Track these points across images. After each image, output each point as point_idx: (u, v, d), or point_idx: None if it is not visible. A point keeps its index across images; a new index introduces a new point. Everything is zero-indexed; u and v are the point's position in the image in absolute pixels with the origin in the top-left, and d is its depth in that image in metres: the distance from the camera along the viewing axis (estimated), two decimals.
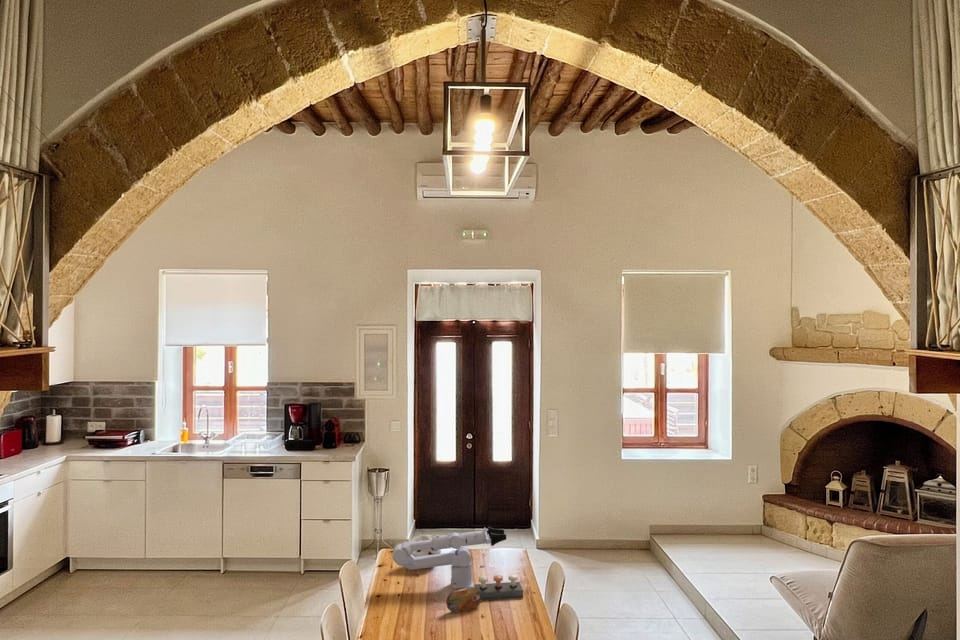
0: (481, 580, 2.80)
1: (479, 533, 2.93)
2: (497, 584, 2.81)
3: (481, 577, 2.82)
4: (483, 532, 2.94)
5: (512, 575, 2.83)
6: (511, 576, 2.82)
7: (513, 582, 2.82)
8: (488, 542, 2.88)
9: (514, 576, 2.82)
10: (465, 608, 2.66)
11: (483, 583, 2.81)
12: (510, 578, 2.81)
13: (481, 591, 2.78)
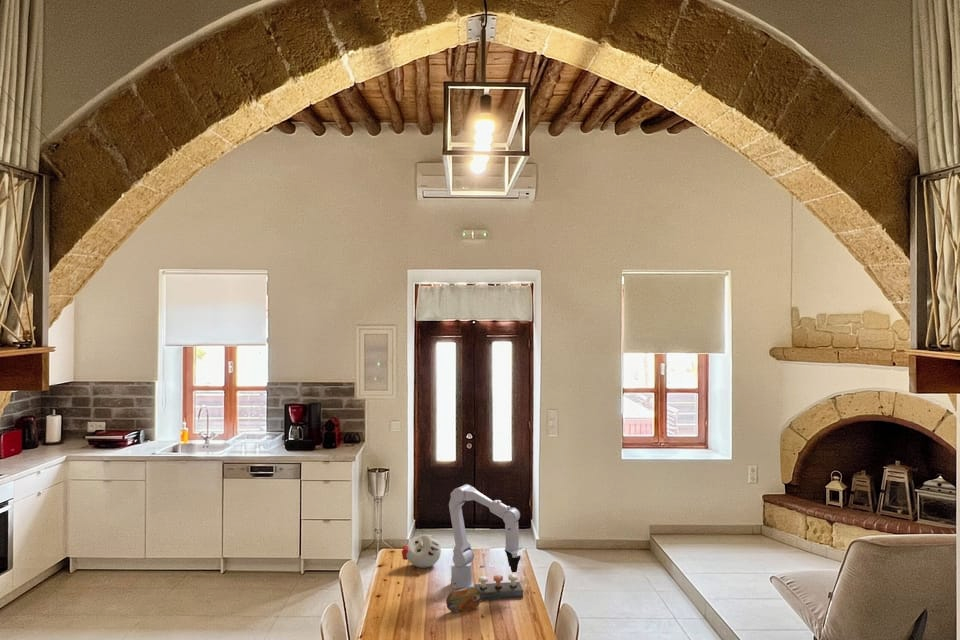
0: (481, 580, 2.80)
1: (517, 543, 2.82)
2: (497, 584, 2.81)
3: (481, 577, 2.82)
4: (518, 546, 2.82)
5: (512, 575, 2.83)
6: (511, 576, 2.82)
7: (513, 582, 2.82)
8: (513, 554, 2.76)
9: (514, 576, 2.82)
10: (465, 608, 2.66)
11: (483, 583, 2.81)
12: (510, 578, 2.81)
13: (481, 591, 2.78)
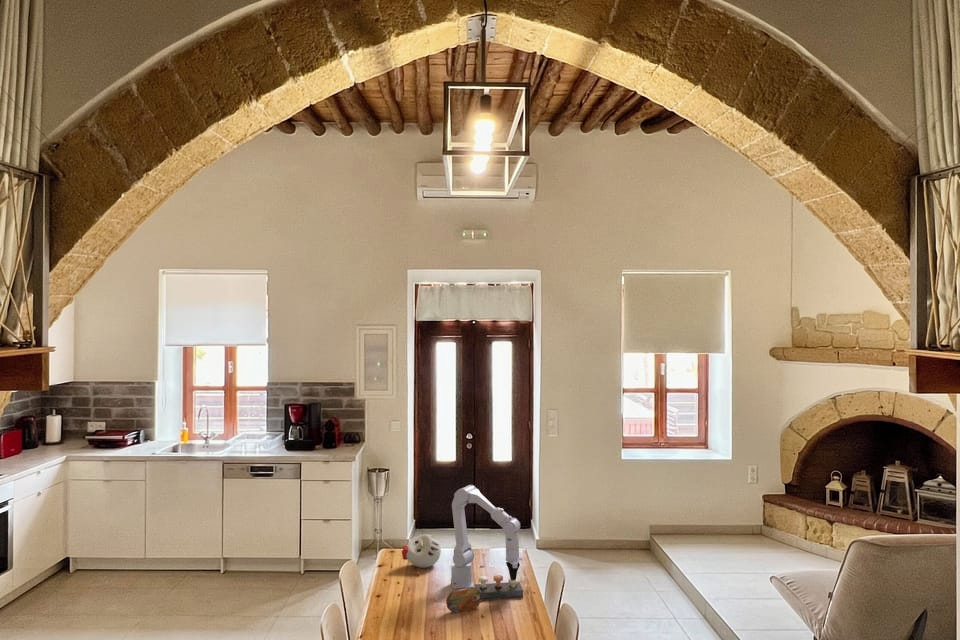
0: (481, 580, 2.80)
1: (518, 553, 2.82)
2: (497, 584, 2.81)
3: (481, 577, 2.82)
4: (518, 557, 2.82)
5: None
6: (511, 580, 2.82)
7: (513, 586, 2.82)
8: (514, 565, 2.76)
9: (514, 580, 2.82)
10: (465, 608, 2.66)
11: (483, 583, 2.81)
12: (510, 582, 2.81)
13: (481, 591, 2.78)
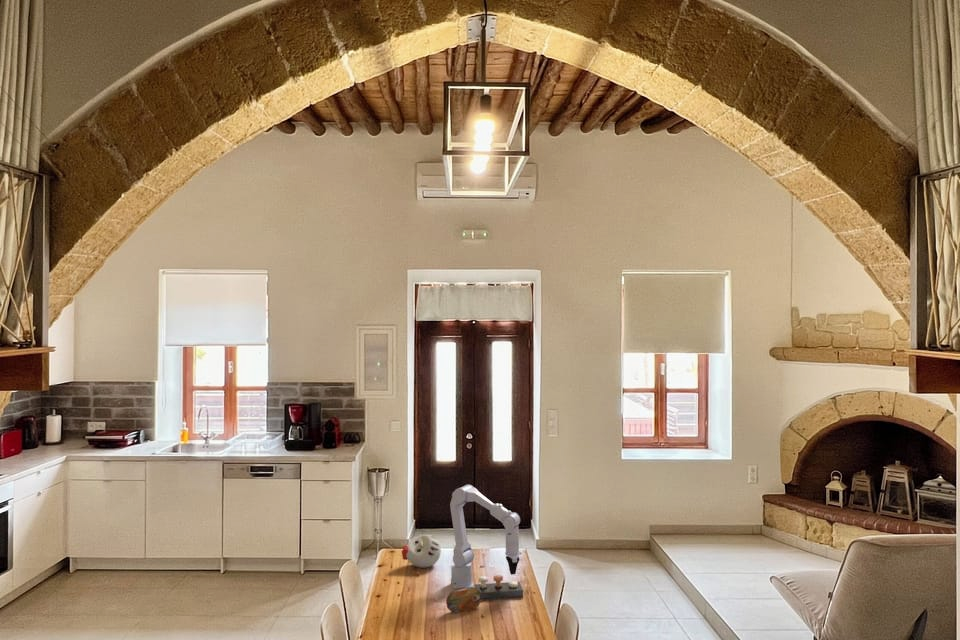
0: (481, 580, 2.80)
1: (518, 547, 2.82)
2: (497, 584, 2.81)
3: (481, 577, 2.82)
4: (518, 551, 2.82)
5: (512, 582, 2.83)
6: (511, 583, 2.82)
7: None
8: (513, 559, 2.76)
9: (514, 583, 2.82)
10: (465, 608, 2.66)
11: (483, 583, 2.81)
12: (510, 585, 2.81)
13: (481, 591, 2.78)
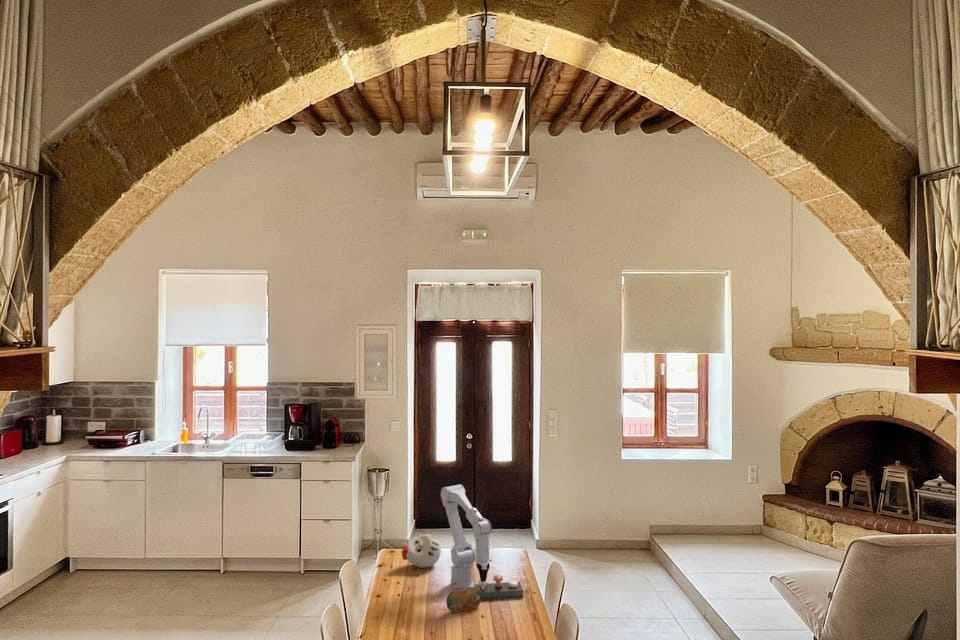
0: (481, 583, 2.80)
1: (488, 554, 2.80)
2: (497, 584, 2.81)
3: None
4: (488, 558, 2.81)
5: (512, 582, 2.83)
6: (511, 583, 2.82)
7: None
8: (483, 567, 2.74)
9: (514, 583, 2.82)
10: (465, 608, 2.66)
11: (483, 586, 2.80)
12: (510, 585, 2.81)
13: (481, 591, 2.78)
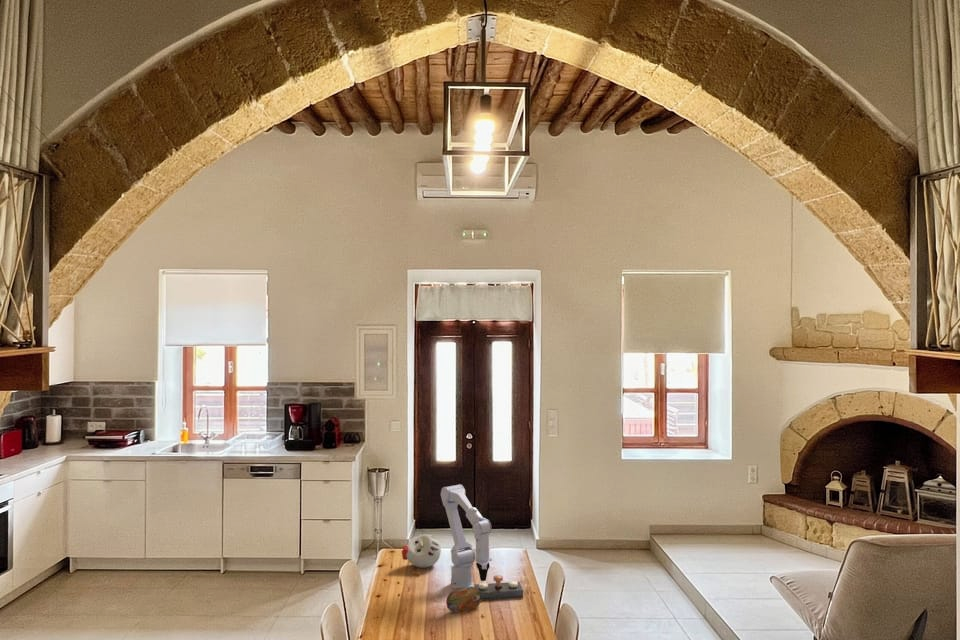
0: (481, 587, 2.80)
1: (488, 554, 2.80)
2: (497, 584, 2.81)
3: (481, 584, 2.82)
4: (488, 558, 2.81)
5: (512, 582, 2.83)
6: (511, 583, 2.82)
7: None
8: (483, 566, 2.75)
9: (514, 583, 2.82)
10: (465, 608, 2.66)
11: None
12: (510, 585, 2.81)
13: (481, 591, 2.78)
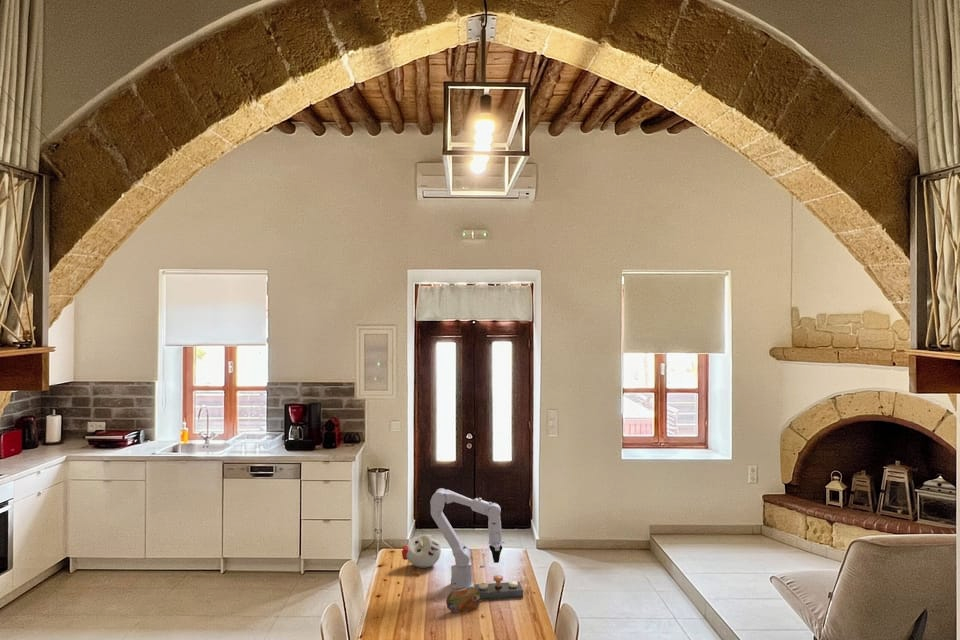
0: (481, 587, 2.80)
1: (500, 536, 2.91)
2: (497, 584, 2.81)
3: (481, 584, 2.82)
4: (501, 540, 2.91)
5: (512, 582, 2.83)
6: (511, 583, 2.82)
7: None
8: (496, 548, 2.85)
9: (514, 583, 2.82)
10: (465, 608, 2.66)
11: None
12: (510, 585, 2.81)
13: (481, 591, 2.78)
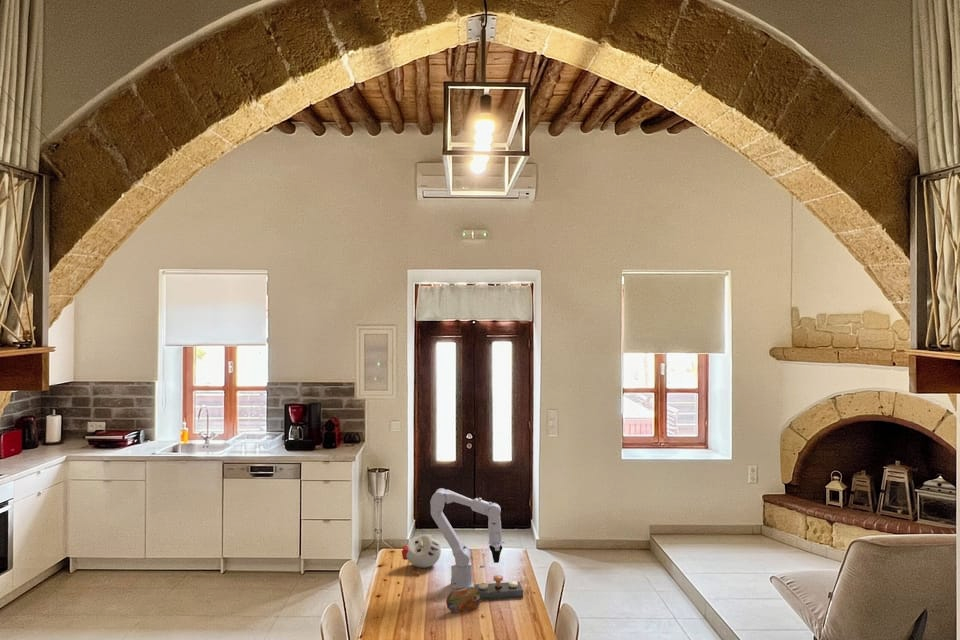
0: (481, 587, 2.80)
1: (500, 536, 2.91)
2: (497, 584, 2.81)
3: (481, 584, 2.82)
4: (501, 540, 2.91)
5: (512, 582, 2.83)
6: (511, 583, 2.82)
7: None
8: (496, 548, 2.85)
9: (514, 583, 2.82)
10: (465, 608, 2.66)
11: None
12: (510, 585, 2.81)
13: (481, 591, 2.78)
